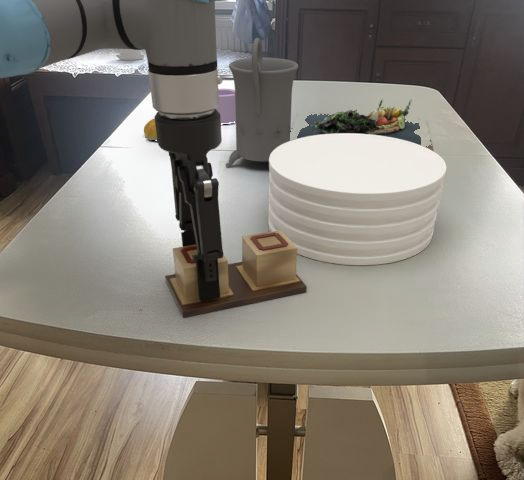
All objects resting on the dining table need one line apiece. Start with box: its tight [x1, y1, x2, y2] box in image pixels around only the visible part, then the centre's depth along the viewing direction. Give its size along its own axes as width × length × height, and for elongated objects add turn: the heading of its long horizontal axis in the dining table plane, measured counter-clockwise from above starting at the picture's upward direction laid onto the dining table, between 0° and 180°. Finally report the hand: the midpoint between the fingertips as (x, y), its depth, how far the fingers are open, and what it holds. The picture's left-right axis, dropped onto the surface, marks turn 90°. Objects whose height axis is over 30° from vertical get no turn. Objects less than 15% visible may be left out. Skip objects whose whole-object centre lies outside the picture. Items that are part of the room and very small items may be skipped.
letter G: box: [172, 245, 229, 301], centre depth 75 cm, size 6×6×5 cm
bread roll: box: [143, 118, 157, 141], centre depth 133 cm, size 8×9×4 cm
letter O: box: [241, 230, 298, 287], centre depth 78 cm, size 6×6×5 cm
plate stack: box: [268, 133, 447, 266], centre depth 91 cm, size 28×28×12 cm
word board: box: [164, 261, 308, 319], centre depth 78 cm, size 18×10×1 cm, turn 111°
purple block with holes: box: [215, 88, 236, 123], centre depth 144 cm, size 20×12×7 cm, turn 81°
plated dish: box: [297, 98, 435, 152], centre depth 136 cm, size 35×28×7 cm
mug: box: [225, 37, 299, 168], centre depth 111 cm, size 19×15×25 cm
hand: (202, 285), depth 76 cm, fingers open, 6 cm apart
